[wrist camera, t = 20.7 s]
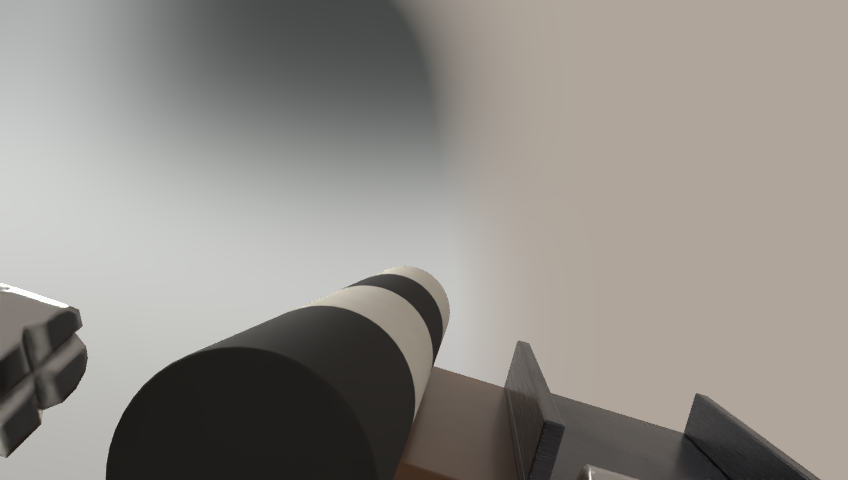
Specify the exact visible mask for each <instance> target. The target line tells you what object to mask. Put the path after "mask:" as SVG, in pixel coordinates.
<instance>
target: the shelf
mask: <svg viewBox="0 0 848 480" xmlns="http://www.w3.org/2000/svg"><path fill="white" fill-rule="evenodd" d="M393 480H519V477H518V471H517V464H516V458H515V451H514V445H513V439H512V432H511V426H510V420H509V413H508V407H507V400H506V394H505V388H503V387H500V386H497V385H494V384H490V383H487V382H483V381H480V380H477V379H474V378H470V377H467V376H464V375H461V374H457V373H454V372H451V371H447V370H444V369H440V368H438V367H434V366H433V368H432V371H431V373H430V376H429V379H428V382H427V385H426V388H425V390H424V393H423V396H422V399H421V402H420V405H419V408H418V410H417V413H416V416H415V419H414V422H413V425H412V427H411V430H410V433H409V436H408V439H407V442H406V444H405V447H404V450H403V453H402V456H401V459H400V462H399V464H398V467H397V470H396V473H395V476H394V479H393Z"/></svg>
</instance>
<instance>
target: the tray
mask: <svg viewBox="0 0 848 480" xmlns="http://www.w3.org/2000/svg"><path fill="white" fill-rule="evenodd" d="M504 388H505V394H506V400H507V407H508V413H509V420H510V426H511V432H512V439H513V445H514V451H515V458H516V464H517V471H518V477H519V480H576V477H577V475H578V474H579V472H580V470H581V468H583V467H584V466H585V465H586V464H588V465H591V466H595V467H598V468H601V469H605V470H608V471H612V472H615V473H618V474H622V475H625V476H629V477H632V478H635V479H639V480H820V479H819V478H818V477H816V476H814V475H813V474H812V473H811V472H809V471H808V470H806V469H805V468H804V467H803V466H801V465H800V464H799V463H797V462H796V461H794V460H793V459H792V458H790V457H789V456H788V455H786V454H785V453H784V452H782V451H781V450H779V449H778V448H777V447H775V446H774V445H773V444H771V443H770V442H768V441H767V440H766V439H765V438H763V437H762V436H760V435H759V434H758V433H756V432H755V431H753V430H752V429H751V428H750V427H748V426H747V425H746V424H744V423H743V422H741V421H740V420H739V419H737V418H736V417H735V416H733V415H732V414H730V413H729V412H728V411H727V410H725V409H724V408H722V407H721V406H720V405H718V404H717V403H716V402H714V401H713V400H711V399H710V398H709V397H708V396H705V395H701V394H698V393H697V394H696V395H695V398H694V401H693V405H692V408H691V412H690V414H689V418H688V421H687V424H686V427H685V431H684V433H681V432H678V431H675V430H671V429H668V428H665V427H661V426H658V425H655V424H651V423H648V422H644V421H642V420H638V419H634V418H632V417H628V416H625V415H622V414H618V413H615V412H612V411H608V410H605V409H602V408H598V407H595V406H592V405H588V404H585V403H582V402H579V401H575V400H572V399H568V398H565V397H562V396H559V395H556V394H552V393H550V391H549V388H548V386H547V384H546V381H545V379H544V377H543V374H542V372H541V370H540V367H539V365H538V363H537V361H536V358H535V356H534V354H533V351H532V349H531V347H530V345H529V343H525V342H522V341H518V342H517V345H516V348H515V352H514V355H513V359H512V363H511V366H510V369H509V373H508V376H507V380H506V383H505V387H504Z"/></svg>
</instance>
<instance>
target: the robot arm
mask: <svg viewBox="0 0 848 480" xmlns="http://www.w3.org/2000/svg"><path fill="white" fill-rule="evenodd" d="M82 326H83V325H82V321H81V316H80V312H79V310H78V309H75V308H73V307H71V306H68V305H65V304H63V303H60V302H57V301H54V300H51V299H48V298H45V297H42V296H39V295H36V294H33V293H30V292H27V291H24V290H21V289H18V288H14V287H11V286H8V285H5V284H2V283H0V456H2V457H5V458H7V457H8V456H9V455H10V454H11V453H12V452H13V451H14V450H15V449H16V448H17V447H18V446H19V445H21V443H23V442H24V440H26V438H28V437H29V435H31V434H32V432H34V431H35V430H36V429H37V428H38V426H40V425H41V421H42V413H43V410H45V409H47V408H50V407H52V406H55V405H58V404H60V403H62V402H63V401H65V400H66V398H67V397H68V396H69V395H70V394H71V393H72V392H73V391H74V390H75V389H76V388H77V385H78V384H79V382H80V380H81V378H82V376H83V375H84V373H85V370H86V364H87V359H88V357H87V350H86V346H85V345H84V344H83V342H82V341H81V340H80V338H79V337H78V336H77V334H76V332H77V331H78V330H79V329H80V328H81V327H82ZM576 480H639V479H635V478H632V477H629V476H625V475H622V474H618V473H615V472H612V471H608V470H605V469H601V468H598V467H595V466H591V465H588V464H586V465H585V466H584V467H583V468H581V470H580V472H579V474H578V475H577V477H576Z"/></svg>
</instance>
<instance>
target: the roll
mask: <svg viewBox="0 0 848 480" xmlns="http://www.w3.org/2000/svg"><path fill="white" fill-rule="evenodd" d="M449 314H450V310H449V303H448V298H447V295H446V293H445V291H444V289H443V287H442V286H441V285H440V283H439V282H438V281H437V280H436V279H435V278H434V277H433V276H432V275H430V274H429V273H427V272H425V271H423V270H421V269H418V268H415V267H409V266H399V267H394V268H391V269H388V270H385V271H383V272H380V273H378V274H376V275H373V276H371V277H369V278H366V279H364V280H362V281H359V282H357V283H355V284H353V285H350V286H348V287H346V288H343V289H341V290H339V291H336V292H334V293H332V294H329V295H327V296H325V297H323V298H320V299H318V300H316V301H313V302H311V303H309V304H306V305H304V306H301V307H299V308H297V309H294V310H292V311H290V312H287V313H285V314H283V315H281V316H278V317H276V318H274V319H271V320H269V321H266V322H264V323H262V324H260V325H257V326H255V327H253V328H250V329H248V330H246V331H243V332H241V333H239V334H236V335H234V336H232V337H230V338H227V339H225V340H222V341H220V342H218V343H215V344H213V345H211V346H208V347H206V348H204V349H201V350H199V351H197V352H194V353H192V354H190V355H187V356H185V357H183V358H181V359H179V360H177V361H175V362H173V363H171V364H170V365H168V366H167V367H165V368H164V369H162V370H161V371H160V372H158V373H157V374H156V375H154V376H153V377H152V378H151V379H150V380H149V381H148V382H147V383H145V384H144V385H143V387H142V388H141V389H140V390H139V391H138V393H137V394H136V395H135V396H134V397H133V399H132V400H131V402H130V403H129V405H128V406H127V408H126V410H125V411H124V413H123V415H122V417H121V419H120V421H119V423H118V425H117V428H116V429H115V432H114V436H113V438H112V442H111V445H110V448H109V454H108V460H107V466H106V480H393V479H394V476H395V473H396V470H397V467H398V464H399V462H400V459H401V456H402V453H403V450H404V447H405V444H406V442H407V439H408V436H409V433H410V430H411V427H412V425H413V422H414V419H415V416H416V413H417V410H418V408H419V405H420V402H421V399H422V396H423V393H424V390H425V388H426V385H427V382H428V379H429V376H430V373H431V371H432V368H433V365H434V362H435V359H436V356H437V354H438V351H439V348H440V345H441V342H442V339H443V337H444V334H445V331H446V328H447V325H448V321H449Z"/></svg>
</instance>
